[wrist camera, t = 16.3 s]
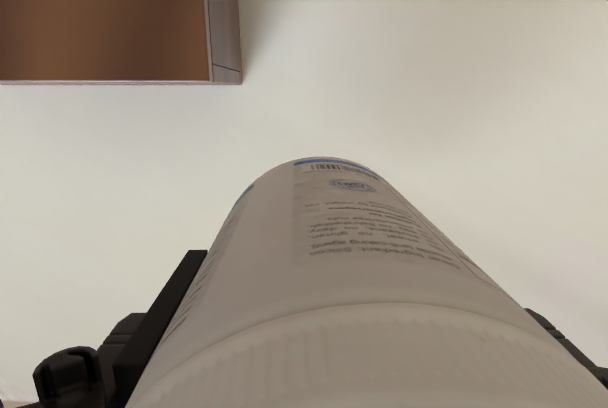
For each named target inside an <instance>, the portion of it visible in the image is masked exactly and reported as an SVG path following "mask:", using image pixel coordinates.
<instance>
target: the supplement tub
mask: <svg viewBox="0 0 608 408" xmlns="http://www.w3.org/2000/svg"><path fill="white" fill-rule="evenodd" d="M125 408H608V390H607V389H606V388H605V387H604V386H603V385H602V384H601V383H600V382H599V381H598V379H597V378H596V377H595V376H594V375H593V374H592V373H591V372H590V371H589V370H588V369H587V368H585V367H584V366H583V365H581V364H580V363H579V362H578V361H577V360H576V359H575V358H574V357H573V356H572V355H571V354H570V353H569V352H568V351H567V350H566V349H565V348H564V347H563V346H562V345H561V344H560V343H559V342H558V341H557V340H556V339H555V338H554V337H553V336H552V335H550V334H549V333H548V332H547V331H546V330H545V329H544V328H543V327H542V326H541V325H540V324H539V323H538V322H537V321H536V320H535V319H534V318H533V317H532V316H531V315H530V314H529V313H528V312H527V311H526V310H525V309H523V308H522V307H521V306H520V305H519V304H518V303H517V302H516V301H515V300H514V299H513V298H512V297H511V296H510V295H508V294H507V293H506V292H505V291H504V290H503V289H502V288H501V287H500V286H499V285H498V284H497V283H496V282H495V281H494V280H492V279H491V278H490V277H489V276H488V275H487V274H486V273H485V272H484V271H483V270H482V269H481V268H479V267H478V266H477V265H476V264H475V263H474V262H473V261H472V260H471V259H470V258H469V257H468V256H467V255H465V254H464V253H463V252H462V251H461V250H460V249H459V248H458V247H457V246H456V245H455V244H454V243H453V242H452V241H451V240H450V239H448V238H447V237H446V236H445V235H444V234H443V233H442V232H441V231H440V230H439V229H438V228H437V227H436V226H435V225H433V224H432V223H431V222H430V221H429V220H428V219H427V218H426V217H425V216H424V215H423V214H422V213H421V212H419V211H418V210H417V209H416V208H415V207H414V206H413V205H412V204H411V203H410V202H409V201H408V200H407V199H405V198H404V197H403V196H402V195H401V194H400V193H399V192H398V191H397V190H396V189H395V188H394V187H393V186H391V185H390V184H389V183H388V182H387V181H386V180H385V179H383V178H382V177H381V176H379V175H378V174H377V173H375V172H374V171H372V170H371V169H369V168H367V167H365V166H363V165H361V164H358V163H355V162H352V161H349V160H345V159H340V158H334V157H309V158H302V159H297V160H293V161H290V162H287V163H284V164H281V165H279V166H277V167H275V168H273V169H271V170H270V171H268V172H266V173H265V174H263V175H262V176H261V177H259V178H258V179H256V180H255V181H254V182H253V183H252V184H251V185H250V186H249V187H248V188H247V189H246V190H245V191H244V192H243V194H242V195H241V196H240V198H239V199H238V200H237V201H236V203H235V205H234V206H233V208H232V210H231V211H230V213H229V215H228V216H227V218H226V220H225V222H224V224H223V226H222V228H221V230H220V231H219V233H218V235H217V237H216V239H215V241H214V243H213V244H212V246H211V248H210V250H209V252H208V254H207V256H206V257H205V259H204V261H203V263H202V265H201V267H200V269H199V270H198V272H197V274H196V276H195V278H194V280H193V282H192V283H191V285H190V287H189V289H188V291H187V293H186V295H185V296H184V298H183V300H182V302H181V304H180V306H179V308H178V309H177V311H176V313H175V315H174V317H173V319H172V320H171V322H170V324H169V326H168V328H167V330H166V331H165V333H164V335H163V337H162V339H161V341H160V342H159V344H158V346H157V348H156V350H155V351H154V353H153V355H152V357H151V359H150V361H149V362H148V364H147V366H146V368H145V370H144V372H143V374H142V376H141V378H140V380H139V382H138V383H137V385H136V387H135V389H134V391H133V393H132V395H131V397H130V399H129V401H128V403H127V404H126V406H125Z"/></svg>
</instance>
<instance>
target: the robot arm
mask: <svg viewBox="0 0 608 408" xmlns="http://www.w3.org/2000/svg"><path fill="white" fill-rule="evenodd" d="M207 254H208V251H207V250H189V251H188V252H187V254H186V255H185V257H184V258H183V260H182V261H181V263H180V264H179V266H178V267H177V268H176V270H175V271H174V273H173V274H172V276H171V277H170V279H169V280H168V282H167V283H166V285H165V286H164V288H163V289H162V291H161V292H160V294H159V295H158V297H157V298H156V300H155V301H154V303H153V304H152V306H151V307H150V309H149V310H148V312H147V313H131V314H130V315H128V316H127V317H125V318H124V319H122V320H121V321H120V322H118V323H117V325H116V326H115V327H114V329H113V330H112V331H111V333H110V335H108V337H107V338H106V339H105V340H104V342H103V345H101V346H100V347H99V348H98V350H97V351H96V350H95V349H93V348H90V347H85V346H78V347H72V348H67V349H64V350H62V351H59V352H57V353H54V354H53V355H51V356H49V357H48V358H46V359H44V360H43V361H42V362H41V363H40V364H39V365H38V366H37V367H36V369H35V371H34V373H33V379H34V383H35V386H36V390H37V394H38V397H39V402H36V403H33V404H29V405H25V406H21V407H17V408H125V406H126V404H127V403H128V401H129V399H130V397H131V395H132V393H133V391H134V389H135V387H136V385H137V383H138V382H139V380H140V378H141V376H142V374H143V372H144V370H145V368H146V366H147V364H148V362H149V361H150V359H151V357H152V355H153V353H154V351H155V350H156V348H157V346H158V344H159V342H160V341H161V339H162V337H163V335H164V333H165V331H166V330H167V328H168V326H169V324H170V322H171V320H172V319H173V317H174V315H175V313H176V311H177V309H178V308H179V306H180V304H181V302H182V300H183V298H184V296H185V295H186V293H187V291H188V289H189V287H190V285H191V283H192V282H193V280H194V278H195V276H196V274H197V272H198V270H199V269H200V267H201V265H202V263H203V261H204V259H205V257H206V256H207ZM523 309H525V310H526V311H527V312H528V313H529V314H530V315H531V316H532V317H533V318H534V319H535V320H536V321H537V322H538V323H539V324H540V325H541V326H542V327H543V328H544V329H545V330H546V331H547V332H548V333H549V334H550V335H552V336H553V337H554V338H555V339H556V340H557V341H558V342H559V343H560V344H561V345H562V346H563V347H564V348H565V349H566V350H567V351H568V352H569V353H570V354H571V355H572V356H573V357H574V358H575V359H576V360H577V361H578V362H579V363H580V364H581V365H583V366H584V367H585V368H587V369H588V370H589V371H590V372H591V373H592V374H593V375H594V376H595V377H596V378H597V379H598V381H599V382H600V383H601V384H602V385H603V386H604V387H605V388H606V389H607V390H608V368H602V367H597V366H596V365H595V364H594V363H593V362H592V361H591V360H589V359H588V358H587V357H586V356H585V355H584V354H583V353H582V352H581V351H580V350H579V349H578V348H577V347H576V346H574V345H573V344H572V343H571V342H570V341H569V340H568V339H565V336H564V335H563V334H562V333H561V332H559V331H558V330H556V328H555V327H554V326H553V325H552V324H551V323H550V322H549V321H548V320H547V319H546V318H544V317H543V316H541V315H539V314H537V313H536V312H534V311H532V310H530V309H529V308H523ZM0 408H4V406H3V403H2V401H1V399H0Z"/></svg>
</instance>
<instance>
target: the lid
mask: <svg viewBox="0 0 608 408" xmlns="http://www.w3.org/2000/svg"><path fill="white" fill-rule="evenodd" d="M211 82H213V73H212V59H211V44H210V30H209V15H208V1H207V0H0V83H211Z"/></svg>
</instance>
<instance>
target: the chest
mask: <svg viewBox="0 0 608 408" xmlns="http://www.w3.org/2000/svg"><path fill="white" fill-rule="evenodd" d="M207 1H208V15H209V30H210V44H211V59H212V73H213V82H211V83H0V85H242V70H241V49H240V28H239V7H238V0H207Z"/></svg>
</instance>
